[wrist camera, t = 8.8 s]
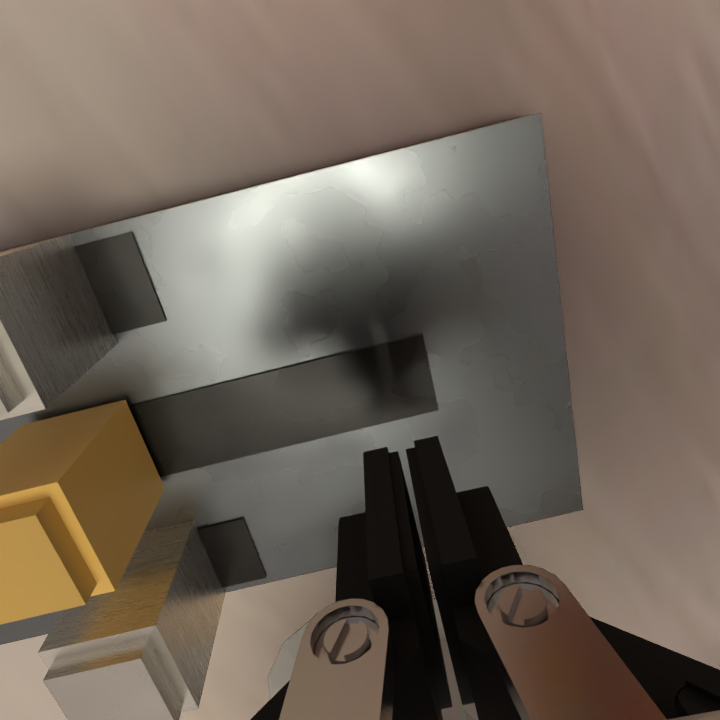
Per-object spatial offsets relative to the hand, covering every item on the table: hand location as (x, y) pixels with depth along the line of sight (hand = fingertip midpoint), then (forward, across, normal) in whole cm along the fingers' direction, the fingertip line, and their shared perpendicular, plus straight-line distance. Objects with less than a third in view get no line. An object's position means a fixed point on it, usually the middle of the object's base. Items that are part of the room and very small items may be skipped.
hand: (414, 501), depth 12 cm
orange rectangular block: (+4, +9, -1) cm, 10 cm away
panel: (+6, +5, -1) cm, 8 cm away
